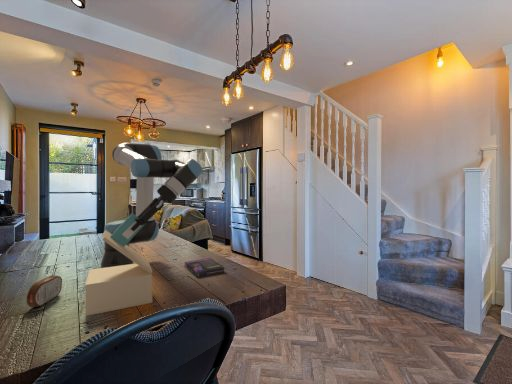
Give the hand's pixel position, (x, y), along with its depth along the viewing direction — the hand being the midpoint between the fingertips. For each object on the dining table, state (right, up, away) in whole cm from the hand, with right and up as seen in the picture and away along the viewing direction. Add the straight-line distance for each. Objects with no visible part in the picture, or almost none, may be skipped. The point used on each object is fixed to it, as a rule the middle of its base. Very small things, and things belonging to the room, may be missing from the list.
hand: (124, 235), depth 99 cm
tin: (-27, -24, -2) cm, 36 cm away
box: (+23, -23, +34) cm, 47 cm away
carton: (-1, -23, -1) cm, 23 cm away
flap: (0, -6, 0) cm, 6 cm away
